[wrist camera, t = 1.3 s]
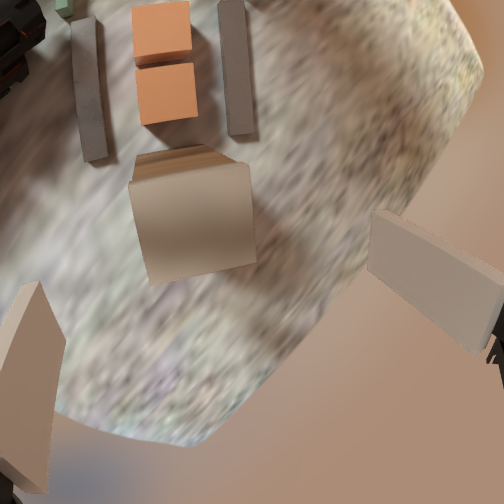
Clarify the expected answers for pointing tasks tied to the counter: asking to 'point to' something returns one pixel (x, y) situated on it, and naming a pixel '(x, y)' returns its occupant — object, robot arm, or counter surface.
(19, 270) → the counter surface
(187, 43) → the orange cube piece
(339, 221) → the counter surface
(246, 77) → the slot rails
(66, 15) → the green u-shaped frame
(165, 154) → the light brown tall block
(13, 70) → the tool
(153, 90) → the orange cubic piece
